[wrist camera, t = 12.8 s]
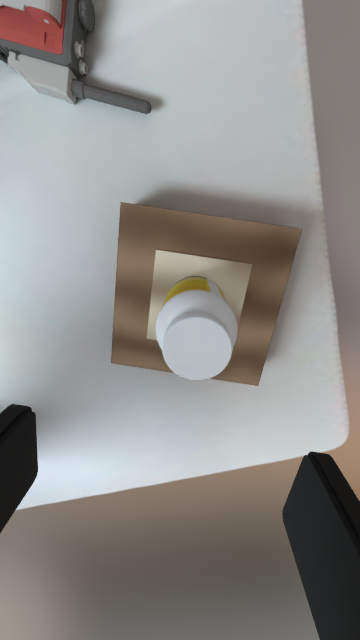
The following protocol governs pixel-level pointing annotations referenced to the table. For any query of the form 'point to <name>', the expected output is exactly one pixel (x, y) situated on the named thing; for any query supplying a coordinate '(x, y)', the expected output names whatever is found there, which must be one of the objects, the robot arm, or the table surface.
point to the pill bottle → (196, 329)
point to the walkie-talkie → (54, 49)
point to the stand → (206, 261)
